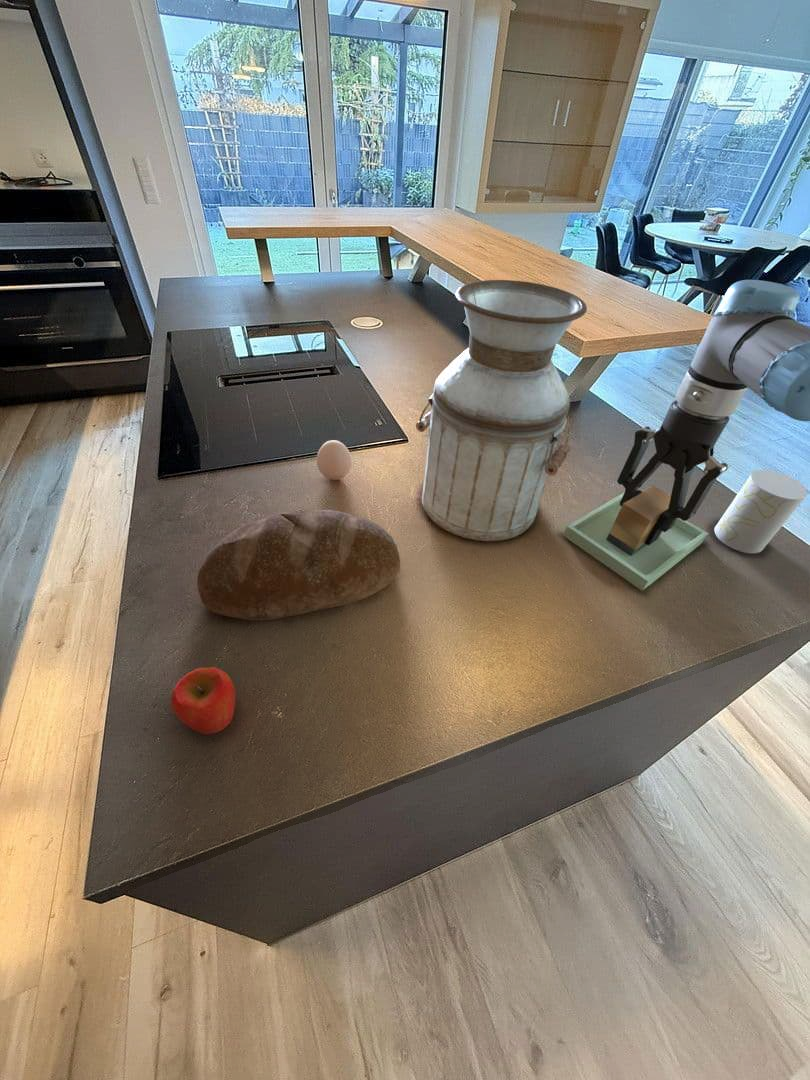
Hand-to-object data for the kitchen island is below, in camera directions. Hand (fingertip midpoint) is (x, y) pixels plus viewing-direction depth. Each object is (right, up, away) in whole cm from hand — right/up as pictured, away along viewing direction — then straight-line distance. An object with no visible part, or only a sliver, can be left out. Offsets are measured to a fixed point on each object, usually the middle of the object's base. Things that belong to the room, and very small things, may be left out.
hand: (636, 531), depth 80 cm
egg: (-54, +11, +11) cm, 56 cm away
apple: (-63, -23, -25) cm, 71 cm away
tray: (0, -1, +2) cm, 2 cm away
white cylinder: (+21, -1, +4) cm, 21 cm away
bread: (-55, -8, -9) cm, 57 cm away
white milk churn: (-26, +5, +7) cm, 28 cm away
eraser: (0, -1, +1) cm, 1 cm away
